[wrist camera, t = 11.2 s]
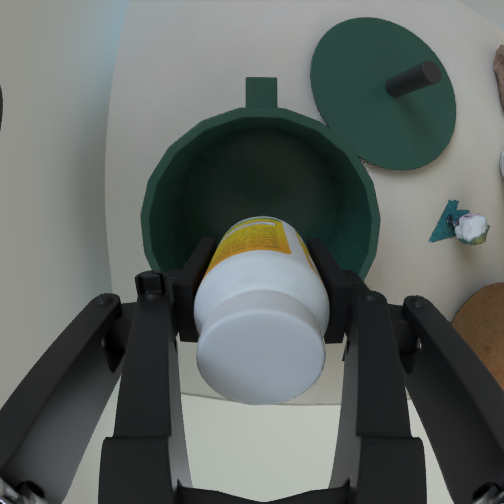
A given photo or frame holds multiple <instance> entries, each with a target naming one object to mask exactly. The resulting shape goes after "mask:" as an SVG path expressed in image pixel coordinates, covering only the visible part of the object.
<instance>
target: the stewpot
mask: <svg viewBox="0 0 504 504" xmlns="http://www.w3.org/2000/svg"><path fill="white" fill-rule="evenodd" d="M263 216H265V217H273V218H277V219H279V220H282V221H284V222H286V223H287V224H289V225H290V226H292V227H293V228H294V229H295V230H296V231H297V232H298V234H299V235H300V236H301V238H302V240H303V241H304V243H305V245H306V247H307V242H308V238H320V239H321V240H322V241H323V243H324V244H325V246H326V247H327V249H328V250H329V251H330V253H331V254H332V256H333V257H334V259H335V260H336V262H337V263H338V265H339V266H340V267H341V269H342V270H352V271H353V272H355V273H357V274H358V275H359V276H360V278H361V279H362V280H363V282H364V280H365V278H366V275H367V273H368V271H369V269H370V267H371V265H372V263H373V260H374V258H375V256H376V251H377V244H378V237H379V228H380V214H379V208H378V203H377V198H376V193H375V189H374V184H373V181H372V179H371V178H370V176H369V174H368V172H367V171H366V169H365V167H364V166H363V164H362V162H361V161H360V159H359V157H358V156H357V154H356V152H355V151H354V149H353V148H352V147H351V146H350V145H348V144H347V143H346V142H345V141H344V140H343V139H341V138H340V137H339V136H338V135H337V134H335V133H334V132H333V131H332V130H331V129H329V128H328V127H327V126H326V125H324V124H323V123H321V122H319V121H317V120H314V119H312V118H309V117H306V116H304V115H301V114H298V113H296V112H293V111H290V110H287V109H284V108H283V109H282V108H277V78H271V77H246V108H237V109H234V110H231V111H228V112H225V113H222V114H220V115H217V116H214V117H211V118H208V119H206V120H203V121H201V122H199V123H198V124H197V125H195V126H194V127H193V128H192V129H190V130H189V131H188V132H187V133H185V134H184V135H183V136H182V137H180V138H179V139H178V140H177V141H175V142H174V143H173V144H172V145H171V146H170V147H169V148H168V149H167V151H166V153H165V154H164V156H163V157H162V159H161V160H160V162H159V164H158V165H157V167H156V168H155V170H154V172H153V173H152V175H151V177H150V178H149V180H148V184H147V188H146V193H145V197H144V202H143V206H142V211H141V227H142V236H143V245H144V253H145V255H146V258H147V260H148V262H149V265H150V267H151V269H152V270H159V271H163V272H165V273H166V272H168V271H170V270H172V269H182V268H183V267H184V265H185V264H186V262H187V261H188V259H189V258H190V256H191V255H192V253H193V252H194V250H195V249H196V247H197V246H198V244H199V243H200V242H201V240H202V239H203V237H216V244H217V248H218V246H219V244H220V242H221V240H222V238H223V237H224V235H225V234H226V232H227V231H228V230H229V229H230V228H231V227H233V226H234V225H235V224H237V223H239V222H240V221H243V220H245V219H248V218H252V217H263Z"/></svg>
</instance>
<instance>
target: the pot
mask: <svg viewBox="0 0 504 504" xmlns="http://www.w3.org/2000/svg"><path fill="white" fill-rule="evenodd" d="M451 325H452V326H453V327H454V329H455V330H456V331H457V332H458V333H459V334H460V336H461V337H462V338H463V339H464V340H465V341H466V343H467V344H468V345H469V346H470V348H471V349H472V350H473V351H474V352H475V354H476V355H477V356H478V357H479V359H480V360H481V361H482V363H483V364H484V365H485V366H486V368H487V369H488V370H489V372H490V373H491V374H492V376H493V377H494V378H495V380H496V381H497V382H498V384H499V385H500V387H501V388H502V389H503V391H504V283H494V284H491V285H489V286H485V287H483V288H482V289H480V290H479V291H478V292H476V293H475V294H473V295H472V296H471V297H470V298H469V299H468V300H467V301H466V302H465V303H464V304H463V306H462V307H461V309H460V310H459V312H458V313H457V315H456V316H455V318H454V320H453V322H452V324H451Z"/></svg>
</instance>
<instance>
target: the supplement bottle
mask: <svg viewBox="0 0 504 504" xmlns="http://www.w3.org/2000/svg"><path fill="white" fill-rule="evenodd" d="M329 315H330V306H329V299H328V295H327V292H326V289H325V287H324V284H323V282H322V280H321V277H320V275H319V273H318V271H317V269H316V266H315V264H314V262H313V260H312V258H311V256H310V254H309V251H308V249H307V247H306V245H305V243H304V241H303V240H302V238H301V236H300V235H299V234H298V232H297V231H296V230H295V229H294V228H293V227H292V226H290V225H289V224H287V223H286V222H284V221H282V220H279V219H277V218H273V217H265V216H263V217H252V218H248V219H245V220H243V221H240V222H239V223H237V224H235V225H234V226H233V227H231V228H230V229H229V230H228V231H227V232H226V234H225V235H224V237H223V238H222V240H221V242H220V244H219V246H218V248H217V250H216V252H215V254H214V256H213V258H212V260H211V263H210V265H209V267H208V269H207V271H206V273H205V276H204V278H203V280H202V282H201V284H200V286H199V288H198V291H197V294H196V297H195V303H194V320H195V325H196V328H197V331H198V333H199V336H200V340H199V343H198V347H197V366H198V369H199V371H200V374H201V376H202V377H203V379H204V380H205V382H206V383H207V384H208V385H209V386H210V387H211V388H212V389H213V390H214V391H216V392H217V393H218V394H220V395H222V396H224V397H226V398H228V399H230V400H232V401H236V402H239V403H243V404H249V405H272V404H278V403H281V402H285V401H288V400H291V399H293V398H295V397H297V396H299V395H300V394H302V393H304V392H305V391H306V390H308V389H309V388H310V387H311V386H312V385H313V384H314V383H315V382H316V381H317V379H318V378H319V376H320V375H321V373H322V370H323V367H324V364H325V347H324V343H323V339H322V338H323V336H324V334H325V332H326V329H327V326H328V322H329Z"/></svg>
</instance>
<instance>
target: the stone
mask: <svg viewBox="0 0 504 504" xmlns="http://www.w3.org/2000/svg"><path fill="white" fill-rule="evenodd" d="M494 68H495V72H496V74H497V80H498V84H499V87H498V89H499V93H500V96H501V103H502V105H503V107H504V45H500V47H499V49H497V50H496V56H495V61H494Z"/></svg>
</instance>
